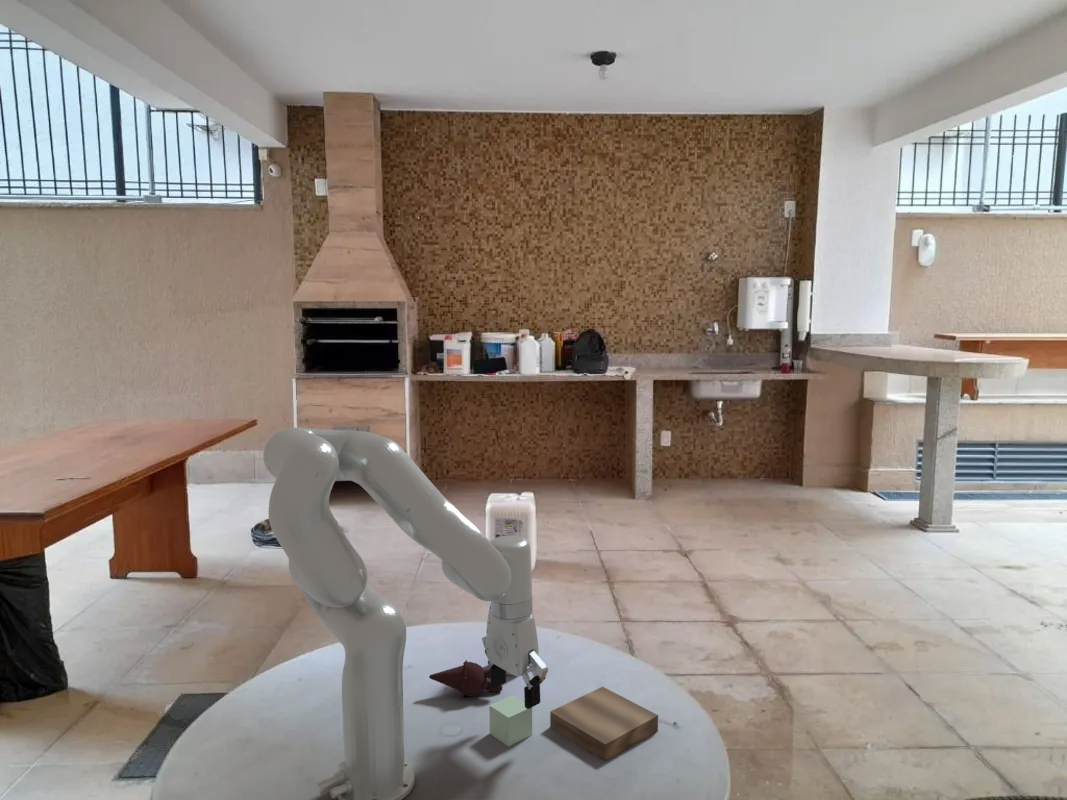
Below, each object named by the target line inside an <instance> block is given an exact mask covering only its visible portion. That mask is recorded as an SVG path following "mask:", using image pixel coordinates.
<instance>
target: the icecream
mask: <svg viewBox="0 0 1067 800" xmlns="http://www.w3.org/2000/svg"><path fill="white" fill-rule="evenodd" d="M428 678H429V679H430V680H433V681H435V682H438V683H440V684H442V685H445V686H447V687H449V688H452V689H453V690H456V691H459V692H461V697H462V698H465V696H475V695H479V694H480V693H481V692H482V691H488V692H490V693H500V692H502V690H503V686H502V685H503V684H502V685H500V686H498V687H496V688H492V687H491V678H490V668H488V669H486V670H485V668H484V667H482V666H481V664H478V663H477V662H473V661H468V660H467V659H465V661H463V664H462V665H459V666H455V667H452V668H450V669H445V670H442V671H439V672H436V673H432V674H430V675H429V676H428ZM488 679H489V681H488Z"/></svg>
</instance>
